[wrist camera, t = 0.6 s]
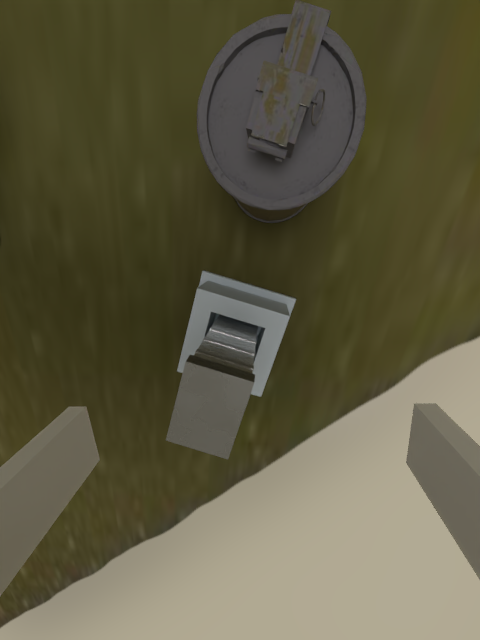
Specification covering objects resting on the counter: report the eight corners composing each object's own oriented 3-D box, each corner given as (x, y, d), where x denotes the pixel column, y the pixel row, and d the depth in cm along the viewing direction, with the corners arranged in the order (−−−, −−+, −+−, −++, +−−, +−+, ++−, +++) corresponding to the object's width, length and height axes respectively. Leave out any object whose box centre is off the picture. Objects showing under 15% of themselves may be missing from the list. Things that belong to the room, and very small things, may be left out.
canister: (298, 234, 35) (335, 229, 16) (220, 208, 35) (165, 173, 16) (332, 140, 32) (428, -5, 13) (246, 111, 32) (216, -75, 13)
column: (212, 346, 40) (165, 440, 21) (224, 300, 38) (184, 361, 19) (246, 357, 40) (228, 459, 21) (260, 311, 38) (255, 382, 19)
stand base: (183, 354, 42) (162, 382, 33) (203, 270, 38) (186, 279, 29) (266, 379, 41) (266, 414, 33) (295, 298, 38) (303, 315, 29)
